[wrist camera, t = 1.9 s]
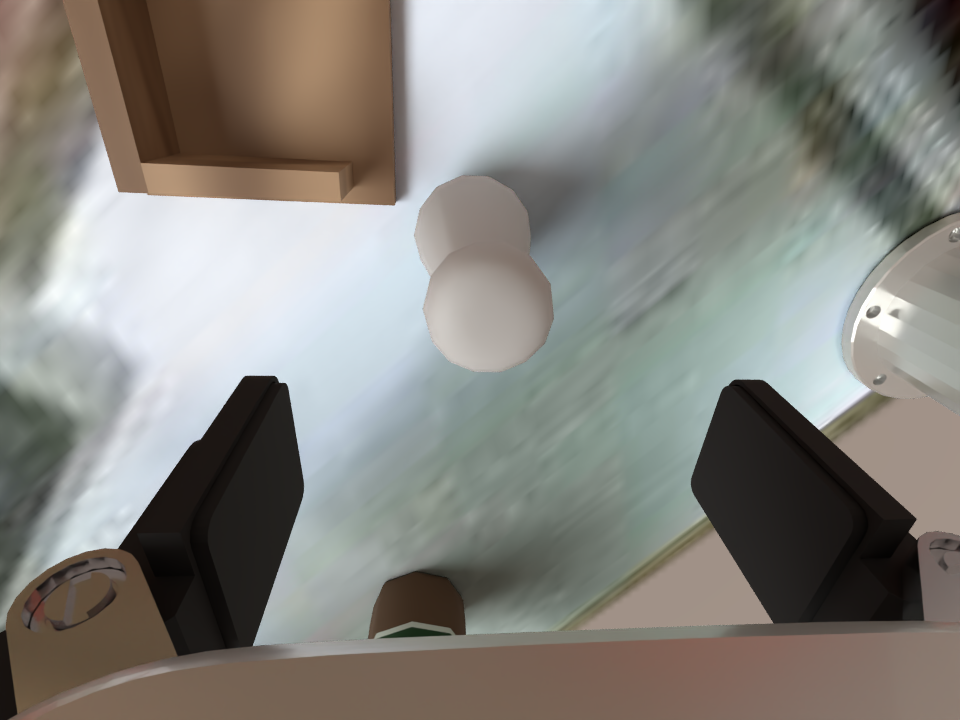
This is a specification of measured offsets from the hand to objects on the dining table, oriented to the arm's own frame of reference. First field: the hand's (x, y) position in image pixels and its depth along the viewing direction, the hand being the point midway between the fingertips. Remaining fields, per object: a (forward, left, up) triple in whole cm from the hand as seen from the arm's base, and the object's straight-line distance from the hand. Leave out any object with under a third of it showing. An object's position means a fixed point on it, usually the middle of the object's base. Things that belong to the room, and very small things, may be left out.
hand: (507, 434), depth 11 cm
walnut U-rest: (+10, -7, -18) cm, 22 cm away
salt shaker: (0, 0, -18) cm, 19 cm away
